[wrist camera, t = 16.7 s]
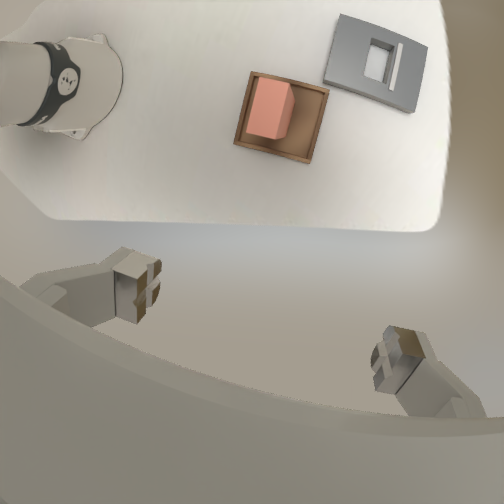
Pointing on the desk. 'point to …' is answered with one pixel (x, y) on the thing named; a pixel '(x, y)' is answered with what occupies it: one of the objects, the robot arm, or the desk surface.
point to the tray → (301, 123)
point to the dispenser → (397, 69)
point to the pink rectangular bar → (271, 109)
